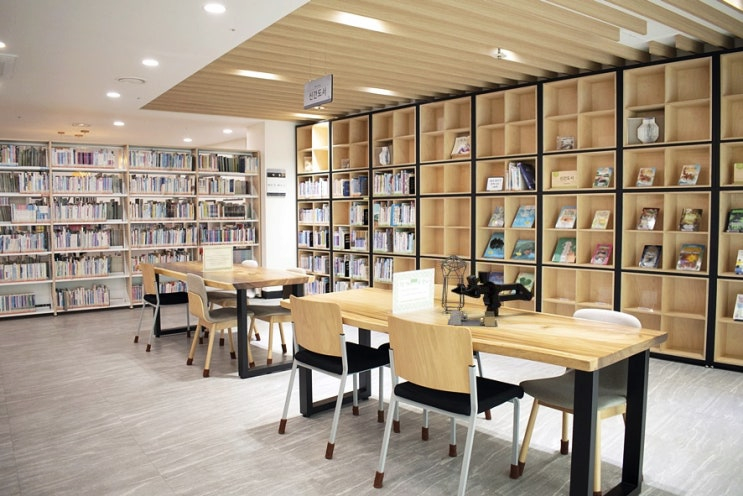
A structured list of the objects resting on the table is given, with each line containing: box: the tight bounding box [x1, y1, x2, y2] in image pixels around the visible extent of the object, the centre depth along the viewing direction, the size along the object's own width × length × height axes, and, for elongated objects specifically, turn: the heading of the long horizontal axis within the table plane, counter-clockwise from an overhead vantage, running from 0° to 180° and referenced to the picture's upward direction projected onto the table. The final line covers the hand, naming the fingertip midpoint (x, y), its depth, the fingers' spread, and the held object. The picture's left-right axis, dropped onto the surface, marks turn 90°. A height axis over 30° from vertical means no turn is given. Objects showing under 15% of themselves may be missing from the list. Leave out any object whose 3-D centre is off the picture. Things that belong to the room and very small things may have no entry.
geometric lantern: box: [440, 254, 468, 314], centre depth 348 cm, size 16×16×35 cm
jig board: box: [447, 318, 499, 328], centre depth 313 cm, size 18×26×1 cm
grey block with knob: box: [449, 309, 468, 327], centre depth 314 cm, size 16×9×5 cm, turn 170°
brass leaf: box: [479, 310, 496, 328], centre depth 312 cm, size 16×8×5 cm, turn 170°
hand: (456, 291), depth 320 cm, fingers open, 9 cm apart
